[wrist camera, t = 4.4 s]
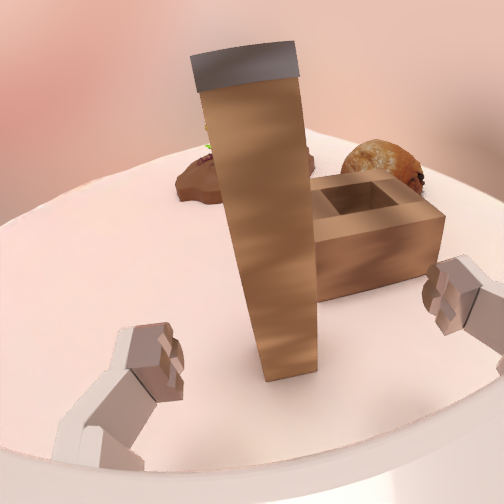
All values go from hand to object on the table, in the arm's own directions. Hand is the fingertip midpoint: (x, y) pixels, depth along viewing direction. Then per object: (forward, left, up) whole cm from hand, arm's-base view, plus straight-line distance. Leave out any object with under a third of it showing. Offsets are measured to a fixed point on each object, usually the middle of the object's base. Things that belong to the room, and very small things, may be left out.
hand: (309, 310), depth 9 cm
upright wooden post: (0, +5, -9) cm, 10 cm away
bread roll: (+16, +25, -9) cm, 31 cm away
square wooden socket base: (+8, +14, -9) cm, 18 cm away
